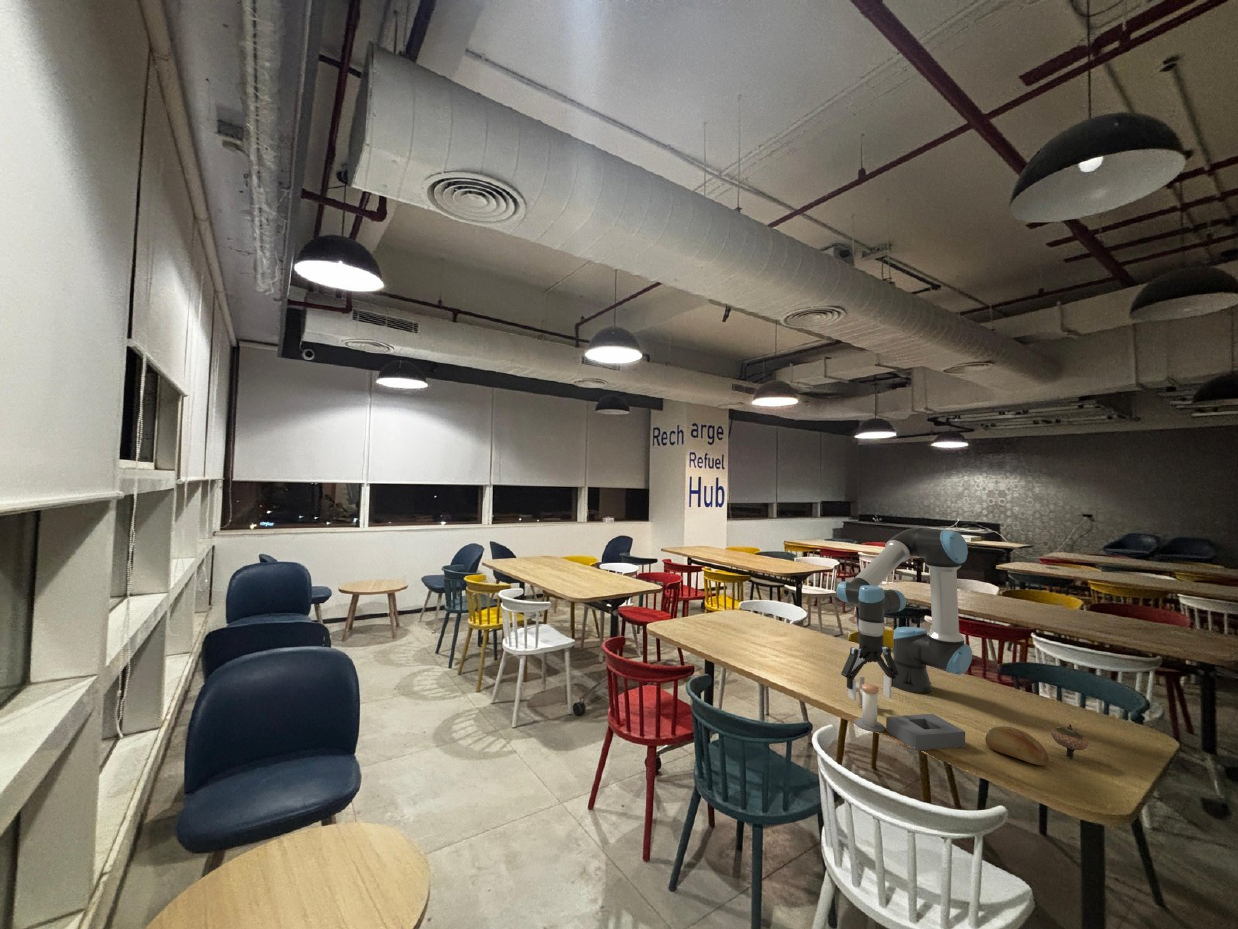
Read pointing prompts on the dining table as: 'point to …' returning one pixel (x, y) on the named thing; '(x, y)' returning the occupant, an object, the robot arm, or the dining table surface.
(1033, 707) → the dining table surface
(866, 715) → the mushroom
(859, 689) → the pipe connector
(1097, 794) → the dining table surface
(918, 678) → the robot arm
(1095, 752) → the dining table surface
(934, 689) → the dining table surface
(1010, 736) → the bread roll
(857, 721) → the grey round plate
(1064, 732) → the brown spinning top
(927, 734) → the grey flat block
